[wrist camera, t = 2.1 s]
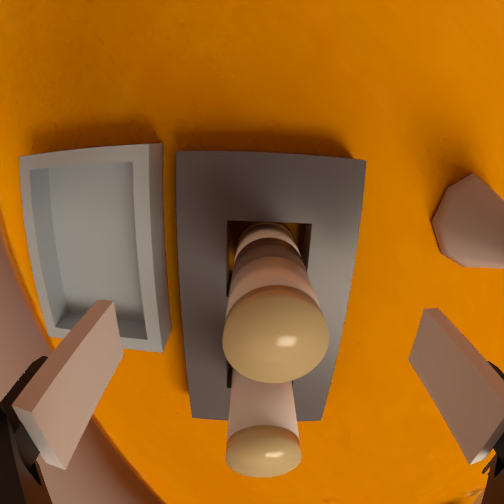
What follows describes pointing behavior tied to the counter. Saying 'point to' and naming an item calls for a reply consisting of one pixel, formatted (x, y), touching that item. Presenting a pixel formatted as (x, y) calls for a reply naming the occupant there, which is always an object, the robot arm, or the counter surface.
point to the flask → (471, 224)
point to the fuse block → (266, 210)
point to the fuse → (262, 428)
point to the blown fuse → (272, 308)
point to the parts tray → (99, 238)
